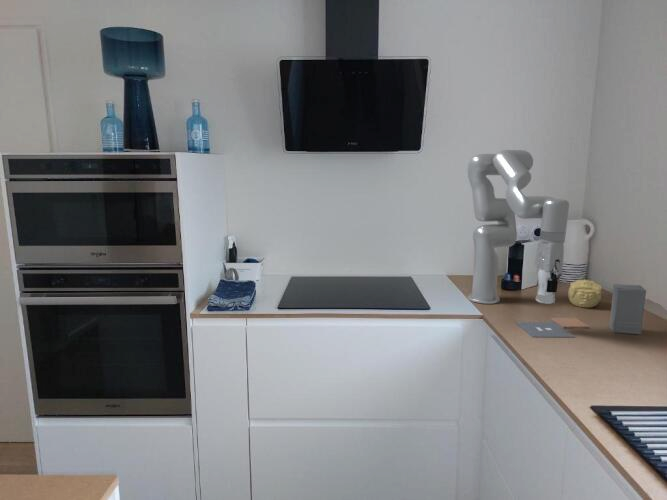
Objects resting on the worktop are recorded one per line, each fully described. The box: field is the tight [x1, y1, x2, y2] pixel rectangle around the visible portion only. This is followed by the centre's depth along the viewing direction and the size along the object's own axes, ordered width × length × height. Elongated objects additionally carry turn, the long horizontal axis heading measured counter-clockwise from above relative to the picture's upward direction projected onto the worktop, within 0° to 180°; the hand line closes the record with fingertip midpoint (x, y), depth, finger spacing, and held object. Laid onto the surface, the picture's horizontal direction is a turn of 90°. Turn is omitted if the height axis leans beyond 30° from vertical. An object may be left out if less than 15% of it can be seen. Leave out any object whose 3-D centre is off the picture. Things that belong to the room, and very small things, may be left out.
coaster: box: [550, 317, 590, 329], centre depth 160 cm, size 9×9×1 cm
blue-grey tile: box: [515, 321, 576, 338], centre depth 154 cm, size 14×14×1 cm
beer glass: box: [535, 257, 556, 305], centre depth 151 cm, size 7×7×15 cm
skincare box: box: [609, 283, 647, 335], centre depth 152 cm, size 8×7×16 cm
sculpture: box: [567, 279, 603, 309], centre depth 181 cm, size 12×12×11 cm
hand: (546, 288), depth 152 cm, fingers closed on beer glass, 6 cm apart
